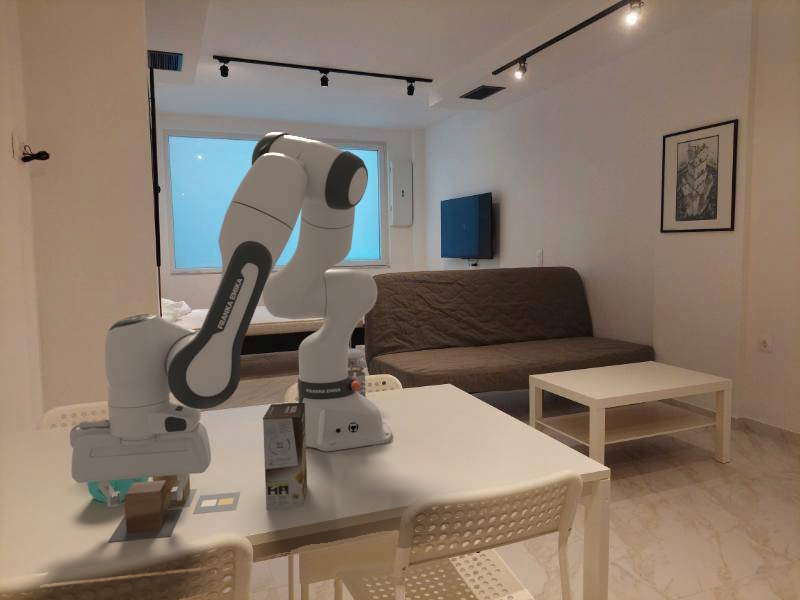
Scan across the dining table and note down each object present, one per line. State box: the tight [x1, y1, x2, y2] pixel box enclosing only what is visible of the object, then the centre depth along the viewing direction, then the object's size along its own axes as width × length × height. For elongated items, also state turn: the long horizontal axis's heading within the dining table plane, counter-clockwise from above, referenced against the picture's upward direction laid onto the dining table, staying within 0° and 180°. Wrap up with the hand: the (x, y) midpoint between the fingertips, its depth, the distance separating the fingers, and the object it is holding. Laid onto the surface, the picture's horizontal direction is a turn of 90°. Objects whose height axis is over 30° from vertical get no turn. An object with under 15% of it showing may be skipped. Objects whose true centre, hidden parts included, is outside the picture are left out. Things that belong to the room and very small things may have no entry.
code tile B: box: [167, 488, 198, 509], centre depth 100 cm, size 7×7×1 cm
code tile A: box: [192, 491, 241, 515], centre depth 98 cm, size 7×7×1 cm
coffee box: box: [262, 402, 308, 510], centre depth 99 cm, size 9×6×16 cm
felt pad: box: [107, 508, 183, 544], centre depth 91 cm, size 9×9×1 cm
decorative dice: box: [86, 477, 150, 503], centre depth 103 cm, size 8×8×8 cm
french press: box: [348, 337, 367, 398], centre depth 160 cm, size 10×12×25 cm
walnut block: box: [124, 480, 169, 533], centre depth 90 cm, size 5×5×6 cm
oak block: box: [151, 475, 191, 506], centre depth 99 cm, size 5×5×6 cm
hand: (146, 502), depth 90 cm, fingers open, 8 cm apart
